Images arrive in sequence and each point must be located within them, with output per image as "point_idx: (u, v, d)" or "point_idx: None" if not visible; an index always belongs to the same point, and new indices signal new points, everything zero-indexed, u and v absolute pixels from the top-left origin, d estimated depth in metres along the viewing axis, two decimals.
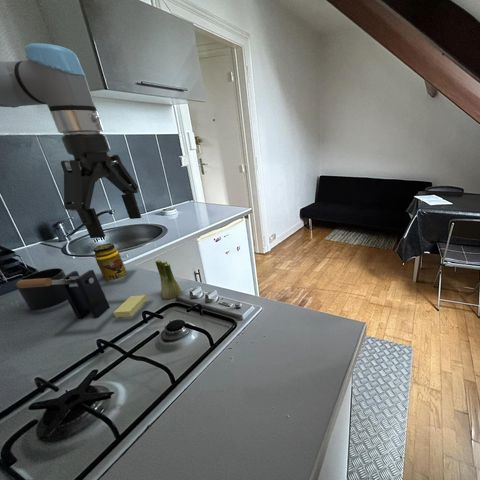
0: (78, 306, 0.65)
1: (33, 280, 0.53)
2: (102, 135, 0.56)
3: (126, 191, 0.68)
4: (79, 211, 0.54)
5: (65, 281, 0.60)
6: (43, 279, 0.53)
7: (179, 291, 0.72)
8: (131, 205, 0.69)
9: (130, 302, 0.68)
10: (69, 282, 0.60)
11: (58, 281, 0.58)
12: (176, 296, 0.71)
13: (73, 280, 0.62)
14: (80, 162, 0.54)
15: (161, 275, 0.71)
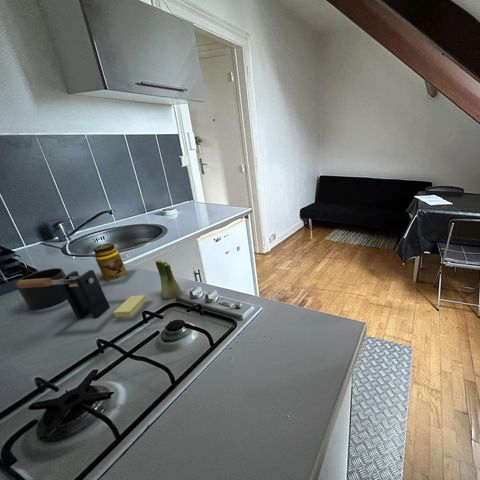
0: (78, 306, 0.65)
1: (33, 280, 0.53)
2: None
3: None
4: None
5: (65, 281, 0.60)
6: (43, 279, 0.53)
7: (179, 291, 0.72)
8: None
9: (130, 302, 0.68)
10: (69, 282, 0.60)
11: (58, 281, 0.58)
12: (176, 296, 0.71)
13: (73, 280, 0.62)
14: None
15: (161, 275, 0.71)
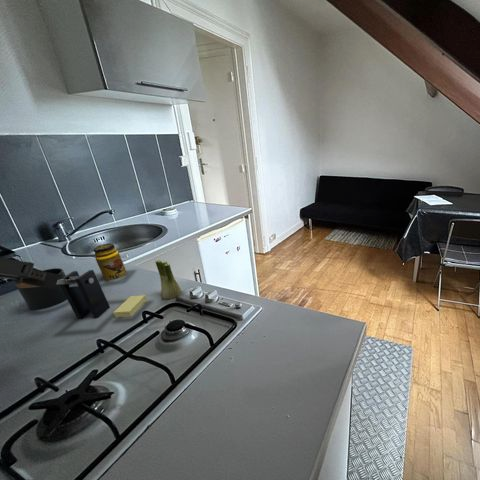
0: (78, 306, 0.65)
1: None
2: None
3: None
4: None
5: (65, 281, 0.60)
6: None
7: (179, 291, 0.72)
8: None
9: (130, 302, 0.68)
10: (69, 282, 0.60)
11: (58, 281, 0.58)
12: (176, 296, 0.71)
13: (73, 280, 0.62)
14: None
15: (161, 275, 0.71)
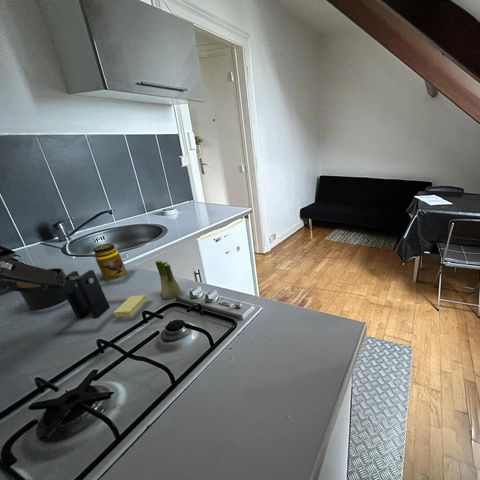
0: (78, 306, 0.65)
1: None
2: None
3: (4, 283, 0.51)
4: None
5: None
6: None
7: (179, 291, 0.72)
8: None
9: (130, 302, 0.68)
10: None
11: None
12: (176, 296, 0.71)
13: (73, 280, 0.62)
14: None
15: (161, 275, 0.71)
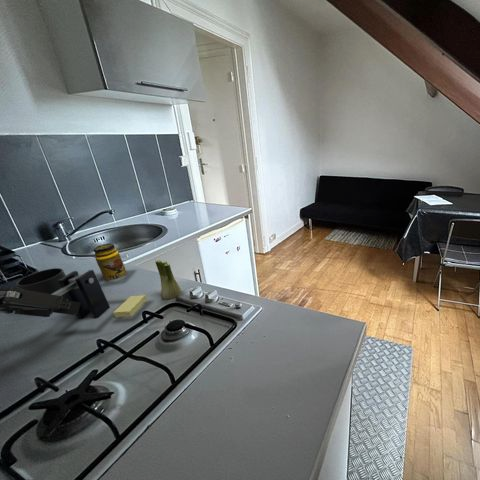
0: None
1: None
2: None
3: (11, 307, 0.52)
4: None
5: (66, 289, 0.60)
6: None
7: (179, 291, 0.72)
8: None
9: (130, 302, 0.68)
10: (70, 288, 0.61)
11: (60, 293, 0.58)
12: (176, 296, 0.71)
13: (73, 284, 0.62)
14: None
15: (161, 275, 0.71)
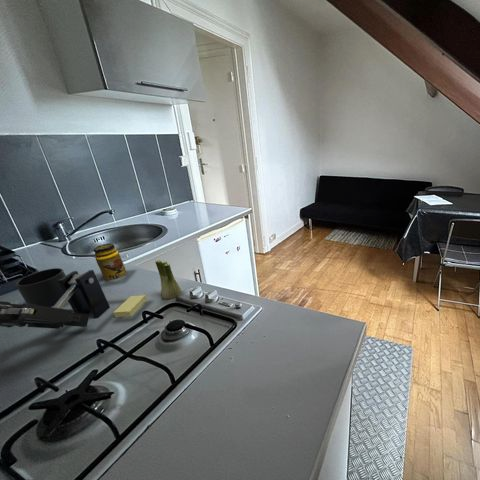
0: (78, 306, 0.65)
1: None
2: None
3: None
4: None
5: (70, 294, 0.60)
6: None
7: (179, 291, 0.72)
8: None
9: (130, 302, 0.68)
10: (73, 291, 0.61)
11: (65, 300, 0.59)
12: (176, 296, 0.71)
13: (75, 287, 0.62)
14: (11, 308, 0.46)
15: (161, 275, 0.71)
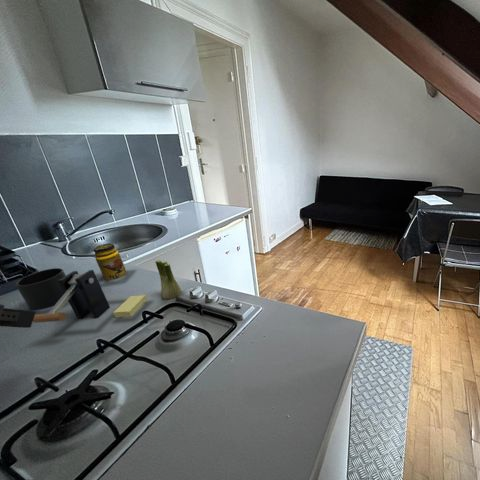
0: (78, 306, 0.65)
1: (47, 318, 0.55)
2: None
3: None
4: None
5: (70, 294, 0.60)
6: (56, 317, 0.55)
7: (179, 291, 0.72)
8: None
9: (130, 302, 0.68)
10: (73, 291, 0.61)
11: (65, 300, 0.59)
12: (176, 296, 0.71)
13: (75, 287, 0.62)
14: None
15: (161, 275, 0.71)
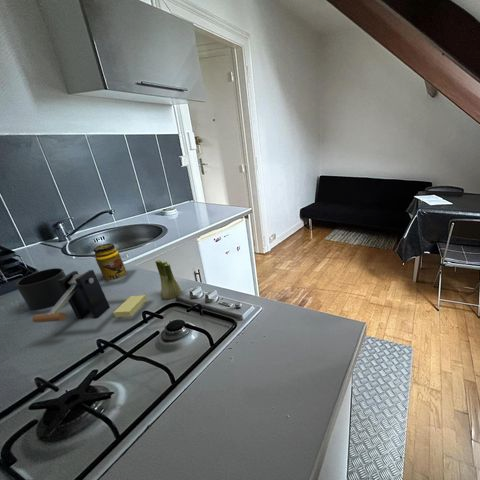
0: (78, 306, 0.65)
1: (47, 318, 0.55)
2: None
3: None
4: None
5: (70, 294, 0.60)
6: (56, 317, 0.55)
7: (179, 291, 0.72)
8: None
9: (130, 302, 0.68)
10: (73, 291, 0.61)
11: (65, 300, 0.59)
12: (176, 296, 0.71)
13: (75, 287, 0.62)
14: None
15: (161, 275, 0.71)
